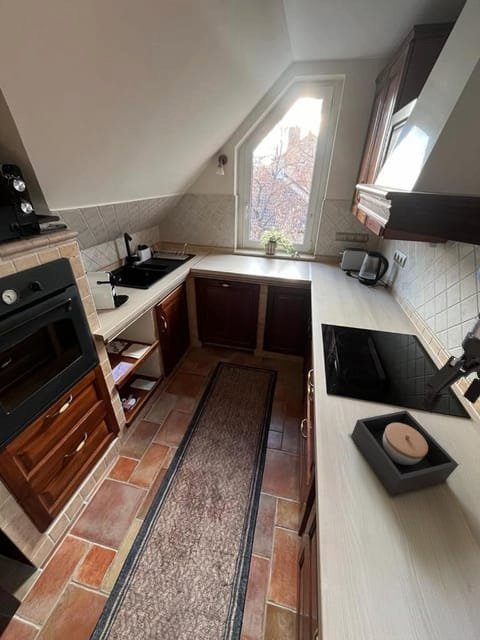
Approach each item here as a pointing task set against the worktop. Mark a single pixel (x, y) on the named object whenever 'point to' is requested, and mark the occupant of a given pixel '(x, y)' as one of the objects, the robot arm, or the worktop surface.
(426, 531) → the worktop surface
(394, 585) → the worktop surface
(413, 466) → the tray
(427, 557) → the worktop surface
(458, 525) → the worktop surface
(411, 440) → the trinket box
